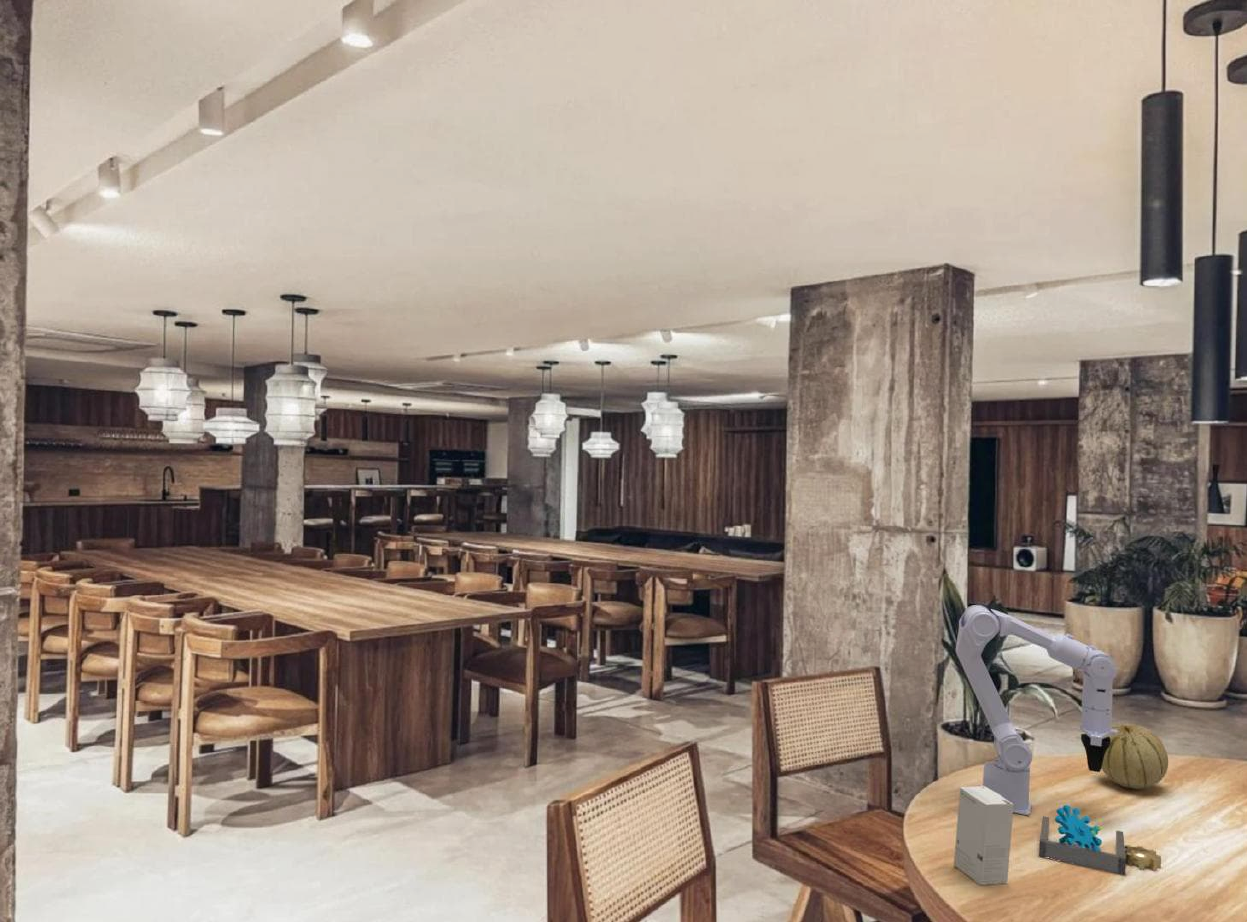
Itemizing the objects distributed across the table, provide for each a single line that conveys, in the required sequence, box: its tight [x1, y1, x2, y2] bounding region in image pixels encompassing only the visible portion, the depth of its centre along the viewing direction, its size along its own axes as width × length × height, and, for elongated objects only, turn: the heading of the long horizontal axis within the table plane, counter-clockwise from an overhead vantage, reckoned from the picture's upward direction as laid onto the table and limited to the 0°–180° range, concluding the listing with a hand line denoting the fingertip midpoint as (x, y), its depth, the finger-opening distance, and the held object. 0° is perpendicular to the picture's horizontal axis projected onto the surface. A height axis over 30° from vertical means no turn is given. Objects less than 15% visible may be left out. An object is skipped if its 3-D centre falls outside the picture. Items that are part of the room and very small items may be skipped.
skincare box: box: [953, 785, 1014, 886], centre depth 162 cm, size 8×6×15 cm
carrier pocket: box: [1038, 815, 1162, 876], centre depth 172 cm, size 20×14×3 cm
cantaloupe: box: [1101, 723, 1169, 790], centre depth 211 cm, size 15×15×15 cm
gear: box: [1054, 804, 1103, 852], centre depth 175 cm, size 11×6×10 cm
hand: (1094, 770), depth 191 cm, fingers closed
